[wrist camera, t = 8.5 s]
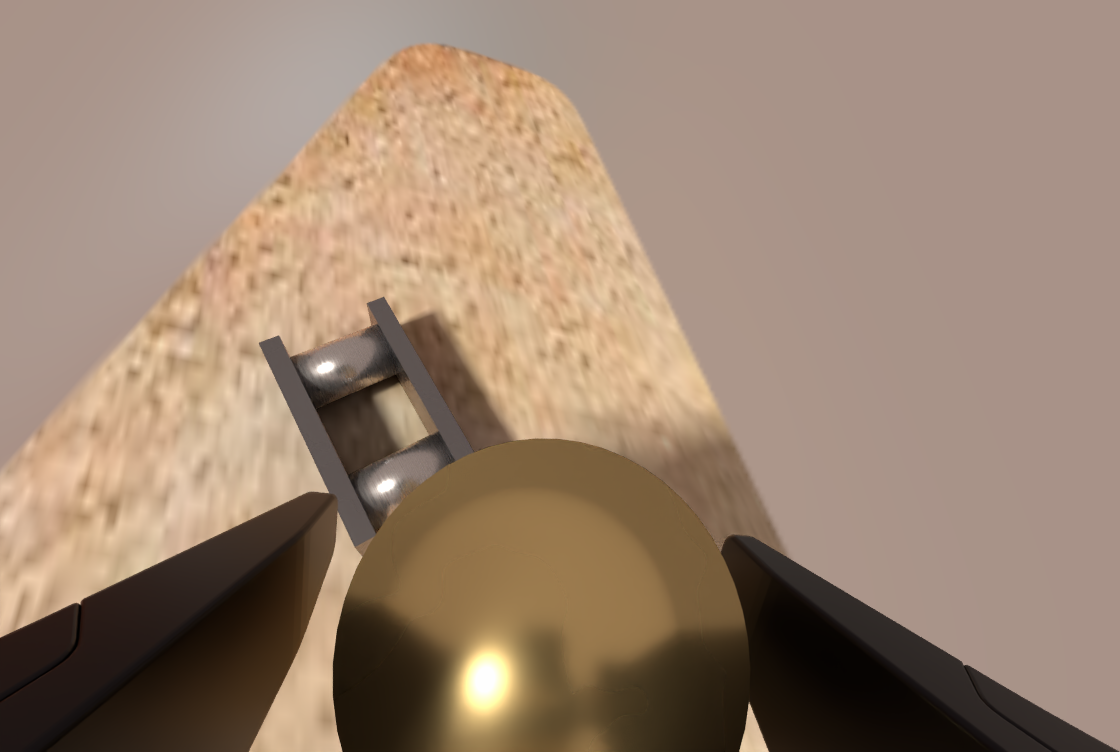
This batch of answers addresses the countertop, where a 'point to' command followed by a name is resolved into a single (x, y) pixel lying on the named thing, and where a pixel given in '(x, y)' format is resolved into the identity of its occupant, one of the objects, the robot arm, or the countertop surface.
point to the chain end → (345, 372)
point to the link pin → (542, 615)
